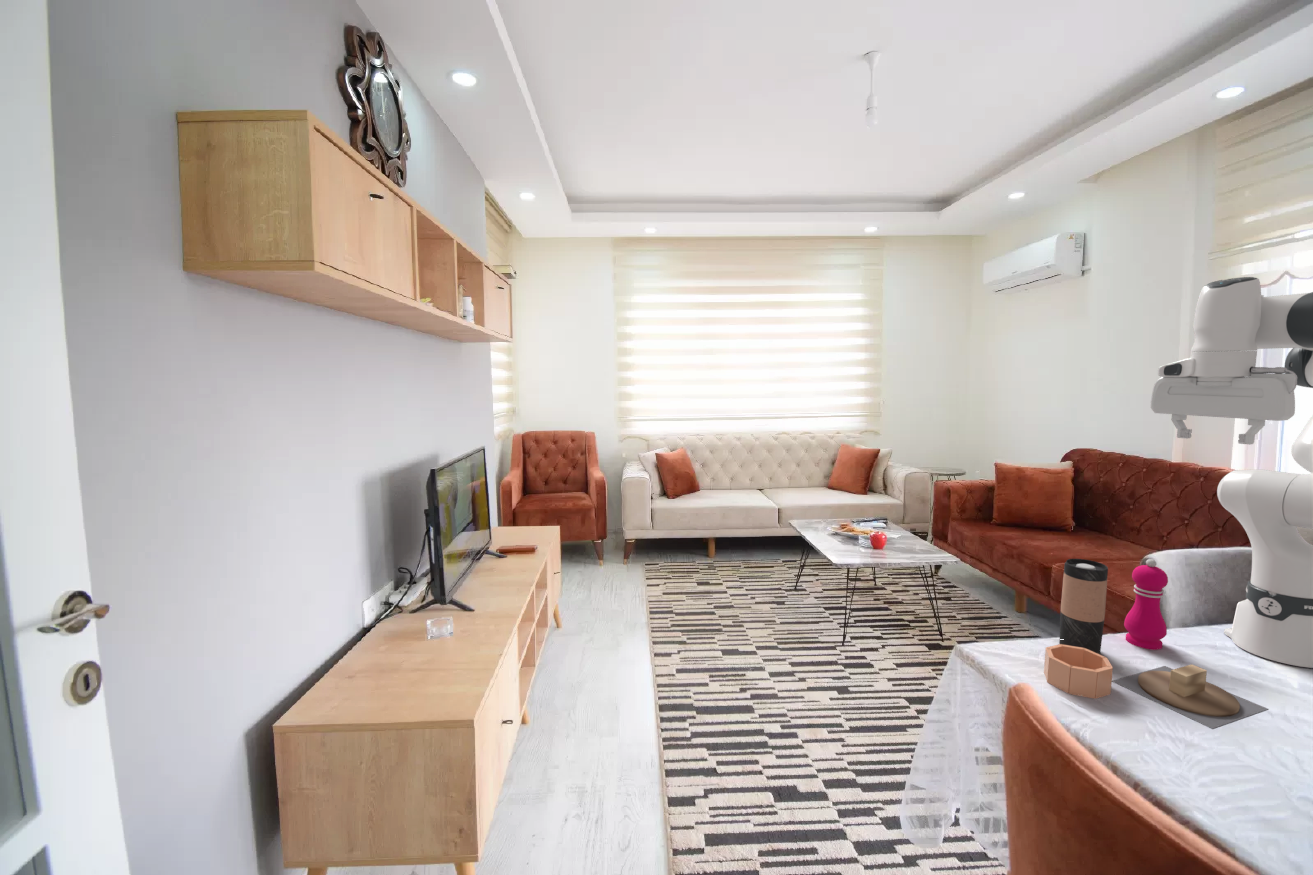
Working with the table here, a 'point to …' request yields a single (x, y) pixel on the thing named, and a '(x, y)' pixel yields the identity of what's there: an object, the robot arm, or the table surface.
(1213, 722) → the mat
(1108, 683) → the bowl
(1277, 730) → the table surface
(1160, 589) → the pepper mill
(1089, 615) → the travel mug
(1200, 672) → the lid
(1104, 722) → the table surface
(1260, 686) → the table surface
